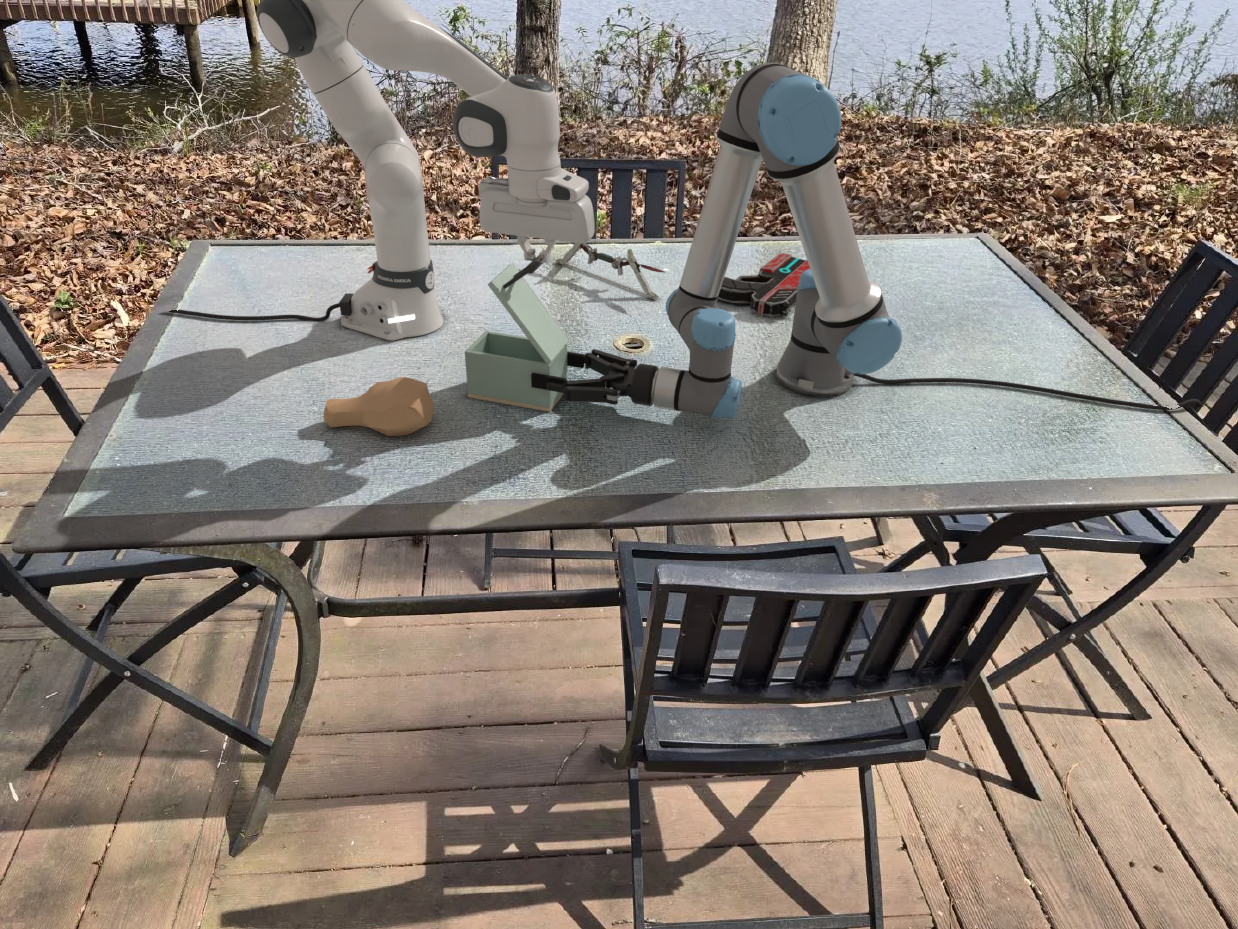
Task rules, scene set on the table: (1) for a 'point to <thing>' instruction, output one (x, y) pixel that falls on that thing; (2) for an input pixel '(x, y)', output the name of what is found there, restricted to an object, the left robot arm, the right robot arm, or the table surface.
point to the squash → (385, 408)
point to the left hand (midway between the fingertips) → (537, 260)
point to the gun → (767, 286)
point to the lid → (529, 310)
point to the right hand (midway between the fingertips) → (542, 367)
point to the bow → (613, 265)
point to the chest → (511, 371)
